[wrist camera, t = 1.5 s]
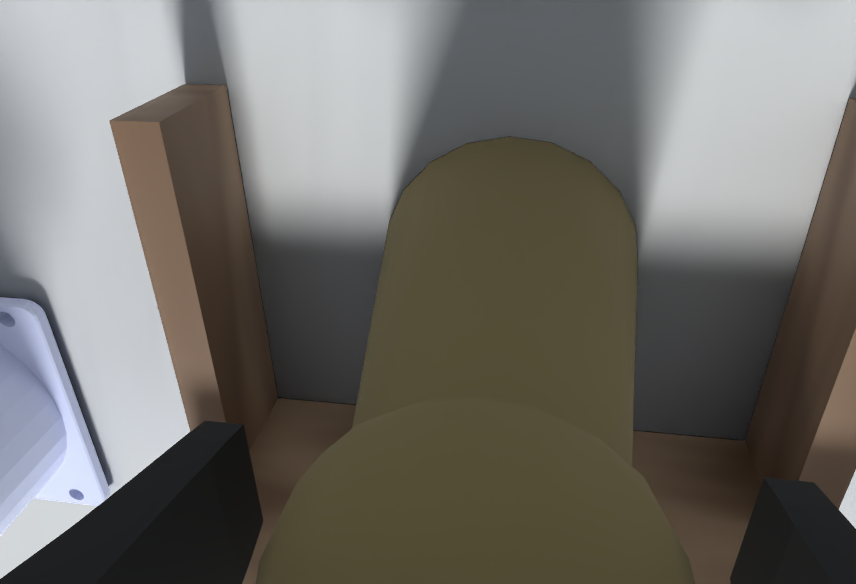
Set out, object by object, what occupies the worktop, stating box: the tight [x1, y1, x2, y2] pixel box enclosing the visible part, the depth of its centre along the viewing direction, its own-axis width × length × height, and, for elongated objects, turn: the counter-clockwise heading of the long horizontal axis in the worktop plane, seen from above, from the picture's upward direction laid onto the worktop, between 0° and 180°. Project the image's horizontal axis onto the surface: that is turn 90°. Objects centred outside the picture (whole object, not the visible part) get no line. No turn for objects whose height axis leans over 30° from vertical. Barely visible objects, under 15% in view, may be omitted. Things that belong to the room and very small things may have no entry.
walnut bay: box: [110, 84, 856, 584], centre depth 14 cm, size 15×10×6 cm, turn 91°
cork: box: [256, 137, 695, 584], centre depth 11 cm, size 6×6×11 cm
